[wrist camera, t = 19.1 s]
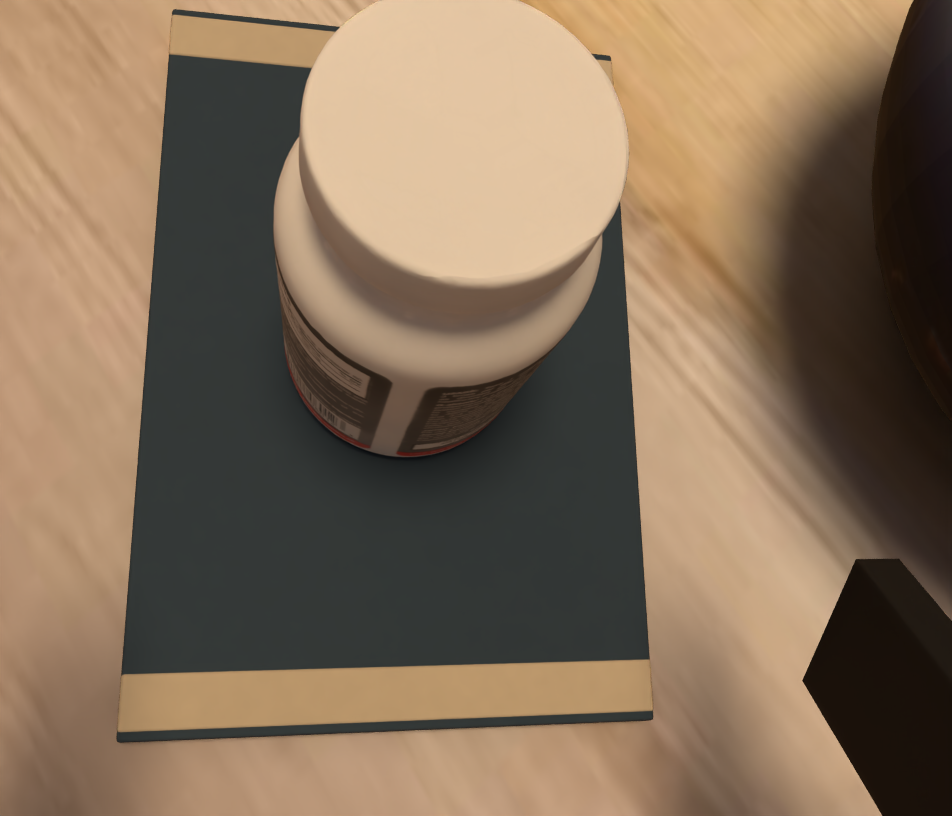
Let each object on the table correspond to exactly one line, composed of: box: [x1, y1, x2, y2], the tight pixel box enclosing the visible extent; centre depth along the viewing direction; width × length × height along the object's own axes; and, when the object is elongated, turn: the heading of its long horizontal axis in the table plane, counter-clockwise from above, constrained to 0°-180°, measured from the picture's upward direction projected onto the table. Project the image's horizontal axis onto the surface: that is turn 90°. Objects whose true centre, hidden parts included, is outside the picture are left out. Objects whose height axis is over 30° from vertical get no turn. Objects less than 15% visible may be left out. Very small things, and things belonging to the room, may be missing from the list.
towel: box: [116, 9, 653, 743], centre depth 22 cm, size 18×12×1 cm, turn 1°
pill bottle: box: [273, 0, 629, 457], centre depth 17 cm, size 6×6×10 cm
